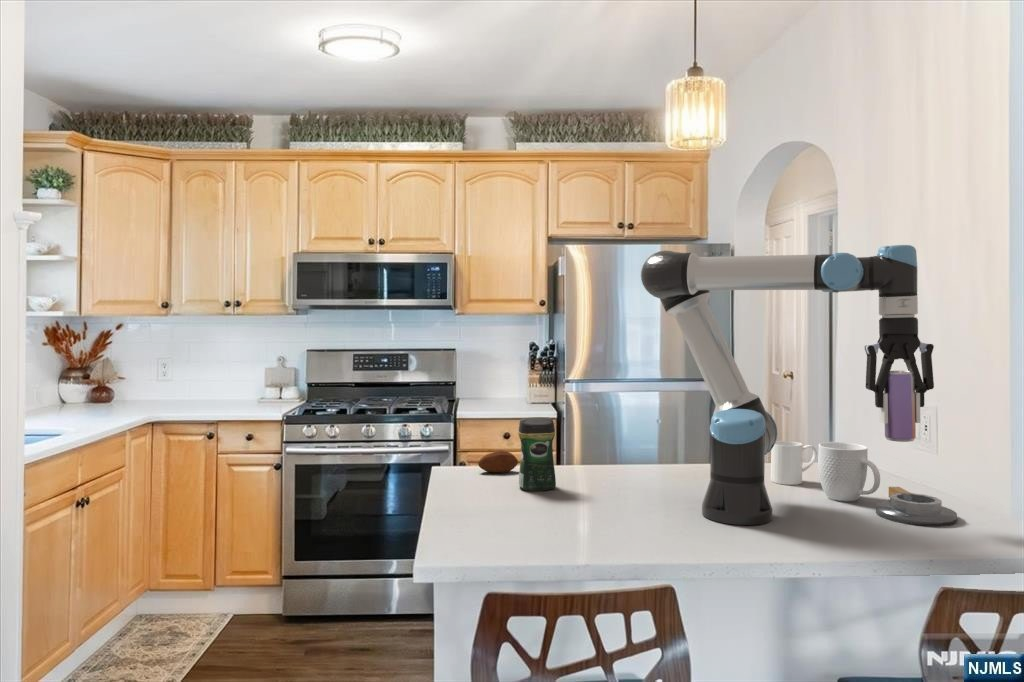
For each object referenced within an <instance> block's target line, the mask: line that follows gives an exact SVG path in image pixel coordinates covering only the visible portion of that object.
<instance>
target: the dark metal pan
mask: <svg viewBox="0 0 1024 682" xmlns="http://www.w3.org/2000/svg"><path fill="white" fill-rule="evenodd" d="M888 498H890V499H889V500H883V501H879V502H877V503H875V514H876V515H877V516H879V517H880V518H883V519H886V520H889V521H890V522H894V523H900V524H904V525H912V526H918V527H919V526H920V527H935V528H936V527H938V528H939V527H947V526H948V527H949V526H953V525H955V524H957V522H958V513H957V512H956V511H955V510H953V509H951V508H948V507H945V506H942V505H943V504H942V502H943V501H942V499H941V498H940V499H939V498H937V497H934V496H932V495H927V494H922V493H914V492H910V491H908V490H906V489H904V488H902V487H900V486H888Z"/></svg>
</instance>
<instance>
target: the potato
mask: <svg viewBox="0 0 1024 682" xmlns="http://www.w3.org/2000/svg"><path fill="white" fill-rule="evenodd" d="M518 464H519V460H518V458H517V457H516V456H515V455H514V454H513V453H511V452H510V451H508V450H503V449H498V450H497V449H496V450H495V451H493V452H490V453H487V454H484V455H483V456H482V457H481V458H480V459H479V461H478V463H477V465H478V467H479V468H480V469H482V470H483V471H485V472H487V473H488V472H489V473H498V474H500V473H501V474H505V473H508V472H510V471H512V470H514V469H515V468H516V467H517V466H518Z"/></svg>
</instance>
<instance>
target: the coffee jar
mask: <svg viewBox="0 0 1024 682" xmlns="http://www.w3.org/2000/svg"><path fill="white" fill-rule="evenodd" d="M518 425H519V426H518V433H517V434H518V437H519V439H520V461H519V463H520V464H519V471H518V472H519V473H518V486H519V488H520V489H521V490H525V491H529V492H530V491H531V492H535V491H536V492H537V491H548V490H552V489H554V488H556V486H557V484H556V483H557V482H556V480H557V478H556V471H555V470H556V469H555V462H554V449H553V448H554V447H553V446H554V445H553V443H554V439H555V435H556V429H555V423H554V420H553V418H551V417H547V416H546V417H543V416H541V417H540V416H536V417H535V416H533V417H522V418H520V420H519V423H518Z"/></svg>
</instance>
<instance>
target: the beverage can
mask: <svg viewBox="0 0 1024 682" xmlns="http://www.w3.org/2000/svg"><path fill="white" fill-rule="evenodd" d="M913 373H914V372H909V371H908V370H890V372H889V376H888V379H887V383H886V386H885V389H884V393H887V394H888V423H884V437H885V439H886V440H887V441H889V442H901V443H902V442H903V443H906V442H907V443H908V442H909V443H910V442H914V441H915V439H916V438H917V436H916V435H917V434H916V433H917V432H916V427H917V426H916V423H915V392H916V391H915V376H914V374H913Z"/></svg>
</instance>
